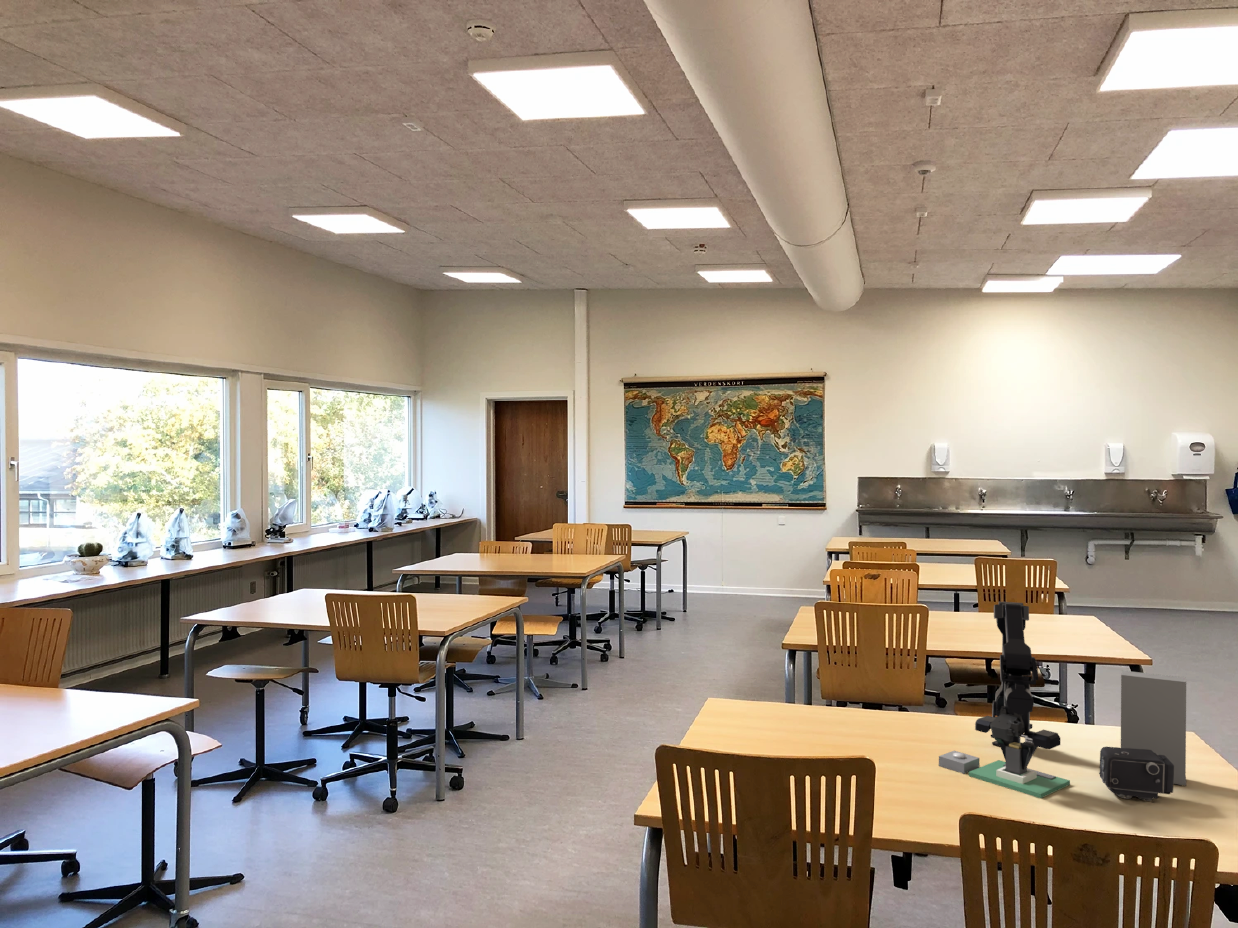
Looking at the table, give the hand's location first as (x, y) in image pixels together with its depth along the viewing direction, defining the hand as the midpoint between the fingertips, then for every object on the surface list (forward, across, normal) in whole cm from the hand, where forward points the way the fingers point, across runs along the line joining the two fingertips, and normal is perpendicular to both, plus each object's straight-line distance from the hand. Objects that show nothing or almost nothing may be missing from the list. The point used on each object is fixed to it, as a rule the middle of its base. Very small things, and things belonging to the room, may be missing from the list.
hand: (1016, 766), depth 216 cm
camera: (+4, +22, +12) cm, 25 cm away
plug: (+1, 0, 0) cm, 1 cm away
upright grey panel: (+4, +19, +29) cm, 35 cm away
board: (+3, 0, +1) cm, 4 cm away
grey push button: (+3, -14, -2) cm, 15 cm away
